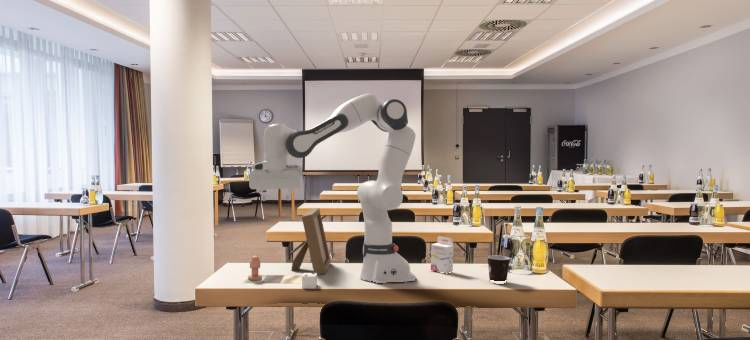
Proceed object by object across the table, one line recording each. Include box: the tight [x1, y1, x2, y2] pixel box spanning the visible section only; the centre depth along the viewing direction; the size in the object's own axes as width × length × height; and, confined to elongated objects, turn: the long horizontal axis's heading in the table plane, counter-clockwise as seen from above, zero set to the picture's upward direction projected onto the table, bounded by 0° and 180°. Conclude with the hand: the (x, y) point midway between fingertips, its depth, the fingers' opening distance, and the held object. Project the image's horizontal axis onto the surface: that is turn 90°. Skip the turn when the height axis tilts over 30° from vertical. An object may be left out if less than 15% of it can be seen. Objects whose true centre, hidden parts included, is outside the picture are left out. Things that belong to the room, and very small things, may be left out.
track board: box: [242, 274, 303, 284], centre depth 195 cm, size 23×14×1 cm, turn 92°
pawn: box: [247, 255, 263, 281], centre depth 194 cm, size 5×5×9 cm
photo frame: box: [291, 208, 332, 275], centre depth 214 cm, size 15×22×25 cm
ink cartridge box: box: [430, 235, 454, 274], centre depth 213 cm, size 9×5×15 cm, turn 49°
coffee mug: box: [487, 254, 511, 281], centre depth 196 cm, size 12×9×10 cm
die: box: [301, 272, 318, 289], centre depth 185 cm, size 5×5×5 cm
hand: (276, 200), depth 196 cm, fingers open, 8 cm apart
